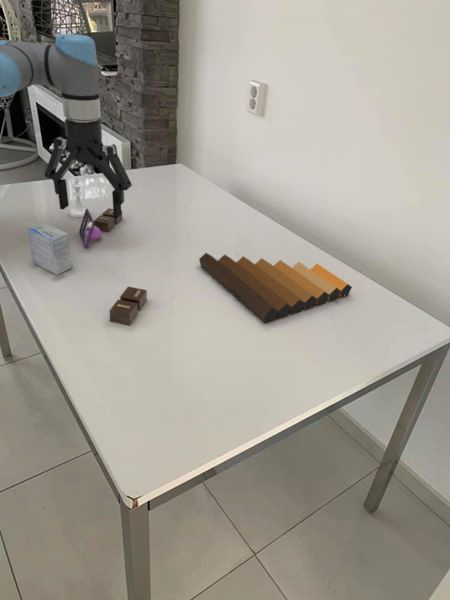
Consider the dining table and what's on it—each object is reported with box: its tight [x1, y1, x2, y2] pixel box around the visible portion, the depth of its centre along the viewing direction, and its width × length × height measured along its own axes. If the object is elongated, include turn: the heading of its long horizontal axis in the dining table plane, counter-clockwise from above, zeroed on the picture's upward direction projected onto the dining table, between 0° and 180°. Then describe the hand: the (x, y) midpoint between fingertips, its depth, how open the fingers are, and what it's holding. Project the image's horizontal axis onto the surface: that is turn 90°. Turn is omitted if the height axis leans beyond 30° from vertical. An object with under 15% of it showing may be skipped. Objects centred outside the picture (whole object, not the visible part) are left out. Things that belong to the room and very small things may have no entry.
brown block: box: [93, 208, 123, 233], centre depth 120 cm, size 4×9×3 cm, turn 168°
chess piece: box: [69, 177, 87, 218], centre depth 121 cm, size 5×5×10 cm
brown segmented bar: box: [109, 286, 148, 326], centre depth 88 cm, size 4×9×3 cm, turn 168°
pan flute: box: [198, 252, 353, 324], centre depth 103 cm, size 25×3×25 cm
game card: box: [78, 208, 102, 249], centre depth 111 cm, size 7×5×9 cm
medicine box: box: [27, 222, 73, 276], centre depth 98 cm, size 8×4×9 cm, turn 56°
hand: (90, 211), depth 108 cm, fingers open, 13 cm apart
